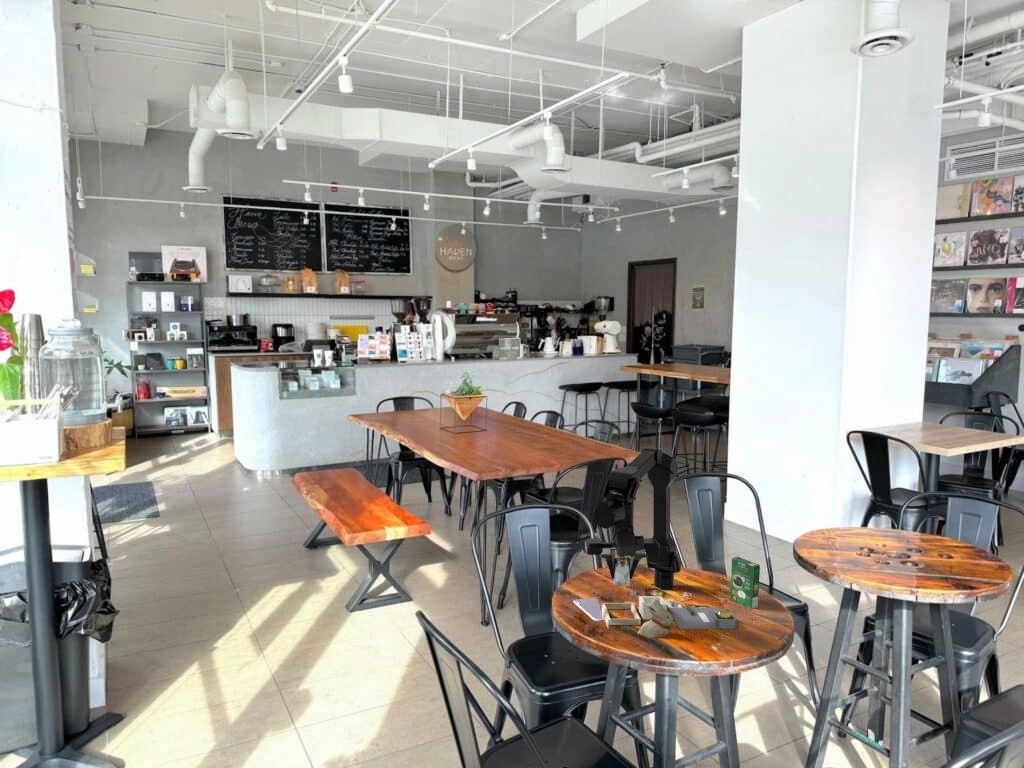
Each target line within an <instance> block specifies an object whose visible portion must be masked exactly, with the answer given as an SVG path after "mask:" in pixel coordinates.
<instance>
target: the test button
mask: <svg viewBox="0 0 1024 768" xmlns="http://www.w3.org/2000/svg"><path fill="white" fill-rule="evenodd" d="M731 612H732V610H730V609H728V608H720V609H718V619H731Z"/></svg>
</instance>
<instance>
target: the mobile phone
mask: <svg viewBox="0 0 1024 768" xmlns="http://www.w3.org/2000/svg"><path fill="white" fill-rule="evenodd" d="M572 602H573V603H574V604H575V605H576V606H577V607H578V608H579V609H580V610H582V612H584V613H585V614H586V615H587V616H588V617H589V618H591V619H592V620H593V621H595V622H600V621H605V618H604V615H603V612H602V603H601V600H600V599H599V598H598V597H595V596H594V597H585V598H578V599H577V598H576V599H573V601H572Z"/></svg>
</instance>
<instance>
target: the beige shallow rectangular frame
mask: <svg viewBox="0 0 1024 768" xmlns="http://www.w3.org/2000/svg"><path fill="white" fill-rule="evenodd" d="M601 606H602V612H603V615H604V618H605V620H604V622H605V624H606V627H607V630H609V631H610V630H611V627H610V626H642V625H641V623H642V622H641V621H642V620H641V619H642V618H641V617H640V615H639V613H638V611H637V609H636V607H635V605H634V603H633V602H602V603H601ZM608 610H630V611H631V613H632V615H633V618H611V617H610V614H609V611H608Z"/></svg>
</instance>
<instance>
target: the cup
mask: <svg viewBox="0 0 1024 768" xmlns="http://www.w3.org/2000/svg"><path fill="white" fill-rule="evenodd" d="M654 599H656V600H658V602H659V603H660V604H661V605H662V607H663V608H664V609H665V610H666V611H667V605H668V604H667V603H666V602H665V600H664V598H663V596H661V595H660V596H658V595H657V596H655V595H653V596H652V595H651V596H648V595H647V596H641V595H640V596H638V612H639V614H640V615H641V619H642V620H651V618H652V614H651V612H650V610H649V609H648V608H647V605H648V604H650V603H652V602H653V600H654ZM666 604H667V605H666Z"/></svg>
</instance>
